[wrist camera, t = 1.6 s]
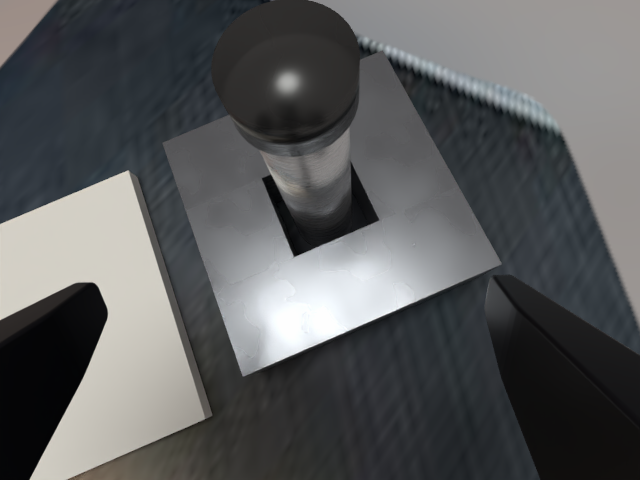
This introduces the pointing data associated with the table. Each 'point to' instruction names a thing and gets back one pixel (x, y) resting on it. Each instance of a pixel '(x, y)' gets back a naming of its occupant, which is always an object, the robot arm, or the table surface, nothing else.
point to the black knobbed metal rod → (296, 105)
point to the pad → (107, 322)
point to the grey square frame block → (340, 254)
